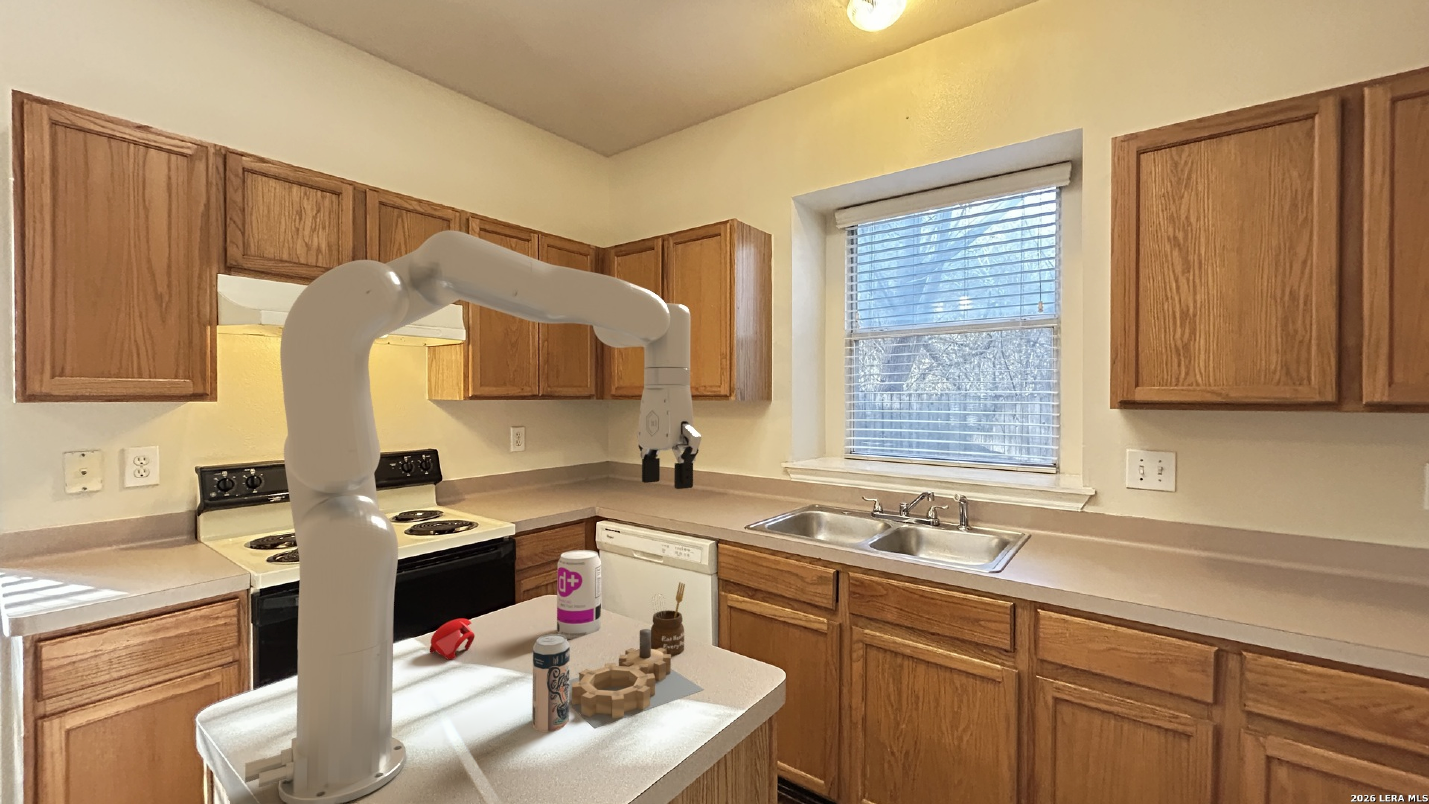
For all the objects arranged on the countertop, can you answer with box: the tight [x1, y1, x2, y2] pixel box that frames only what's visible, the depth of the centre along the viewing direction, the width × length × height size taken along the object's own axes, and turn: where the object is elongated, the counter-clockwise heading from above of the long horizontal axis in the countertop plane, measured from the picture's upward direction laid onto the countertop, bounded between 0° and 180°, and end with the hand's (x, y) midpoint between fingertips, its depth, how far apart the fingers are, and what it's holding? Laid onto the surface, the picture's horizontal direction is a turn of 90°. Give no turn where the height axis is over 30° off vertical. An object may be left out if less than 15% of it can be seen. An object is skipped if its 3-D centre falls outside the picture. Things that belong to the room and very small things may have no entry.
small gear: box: [618, 628, 672, 681], centre depth 95 cm, size 8×8×6 cm
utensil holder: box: [650, 581, 686, 657], centre depth 104 cm, size 6×6×12 cm
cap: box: [429, 618, 476, 660], centre depth 104 cm, size 8×6×6 cm
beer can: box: [531, 633, 571, 732], centre depth 80 cm, size 5×5×12 cm
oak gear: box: [572, 662, 655, 718], centre depth 87 cm, size 12×12×2 cm
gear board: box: [569, 668, 705, 729], centre depth 90 cm, size 18×15×1 cm
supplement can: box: [556, 549, 602, 640], centre depth 115 cm, size 8×8×15 cm
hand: (666, 485), depth 97 cm, fingers open, 9 cm apart
